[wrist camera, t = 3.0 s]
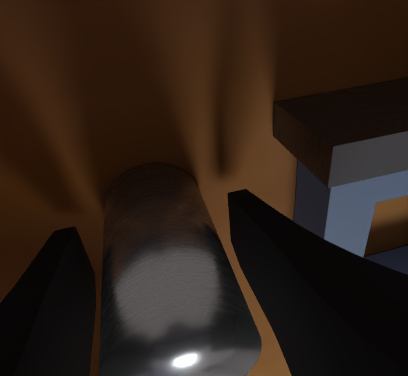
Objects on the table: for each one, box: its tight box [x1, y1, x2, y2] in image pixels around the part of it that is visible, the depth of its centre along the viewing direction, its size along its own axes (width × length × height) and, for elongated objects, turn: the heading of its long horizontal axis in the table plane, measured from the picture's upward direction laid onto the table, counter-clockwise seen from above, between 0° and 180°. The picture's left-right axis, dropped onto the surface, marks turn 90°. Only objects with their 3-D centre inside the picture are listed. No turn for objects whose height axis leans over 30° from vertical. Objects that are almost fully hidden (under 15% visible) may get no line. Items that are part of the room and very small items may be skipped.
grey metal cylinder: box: [99, 163, 262, 376], centre depth 9 cm, size 3×3×6 cm
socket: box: [294, 160, 408, 274], centre depth 14 cm, size 9×9×2 cm
